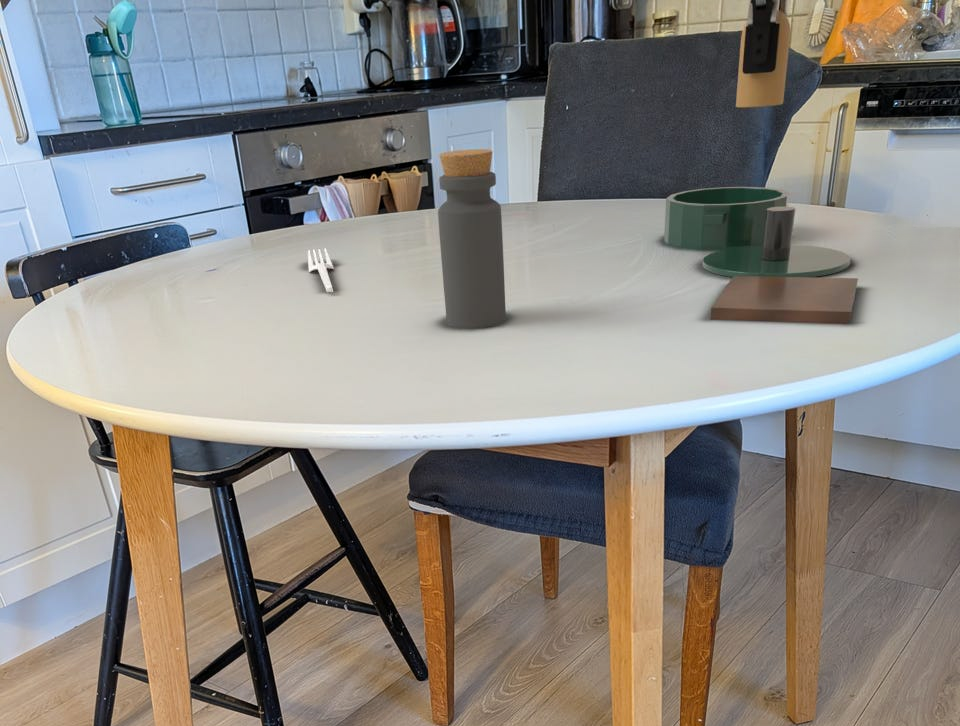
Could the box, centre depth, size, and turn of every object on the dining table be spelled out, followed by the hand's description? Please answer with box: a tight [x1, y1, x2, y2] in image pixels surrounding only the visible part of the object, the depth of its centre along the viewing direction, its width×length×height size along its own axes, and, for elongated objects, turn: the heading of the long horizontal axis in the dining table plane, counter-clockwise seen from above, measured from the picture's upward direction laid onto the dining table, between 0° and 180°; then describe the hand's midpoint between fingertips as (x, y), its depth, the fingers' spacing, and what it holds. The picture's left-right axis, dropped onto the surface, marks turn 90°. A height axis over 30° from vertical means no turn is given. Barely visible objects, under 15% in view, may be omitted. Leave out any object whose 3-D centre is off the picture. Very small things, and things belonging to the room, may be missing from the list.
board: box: [709, 276, 859, 325], centre depth 83 cm, size 12×13×2 cm
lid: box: [702, 206, 851, 278], centre depth 96 cm, size 16×16×6 cm
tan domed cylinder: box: [735, 10, 791, 108], centre depth 90 cm, size 5×5×8 cm
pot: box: [663, 186, 790, 251], centre depth 110 cm, size 15×20×6 cm
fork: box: [307, 248, 335, 293], centre depth 108 cm, size 3×20×2 cm, turn 13°
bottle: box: [437, 148, 507, 330], centre depth 82 cm, size 6×6×15 cm
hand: (762, 69), depth 90 cm, fingers closed on tan domed cylinder, 4 cm apart
